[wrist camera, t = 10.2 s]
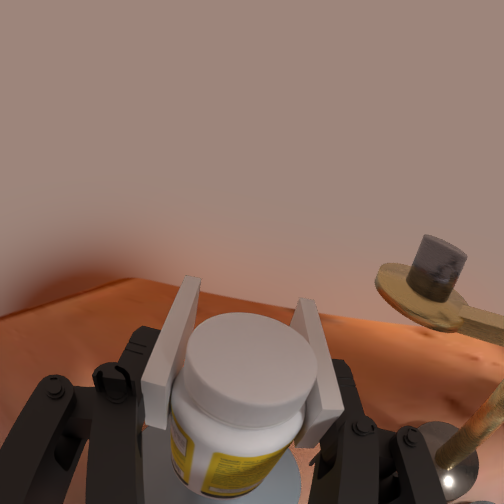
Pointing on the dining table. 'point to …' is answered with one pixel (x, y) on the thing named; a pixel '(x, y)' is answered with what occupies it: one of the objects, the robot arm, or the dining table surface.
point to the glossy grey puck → (482, 502)
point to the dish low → (184, 500)
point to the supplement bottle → (238, 402)
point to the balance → (449, 321)
